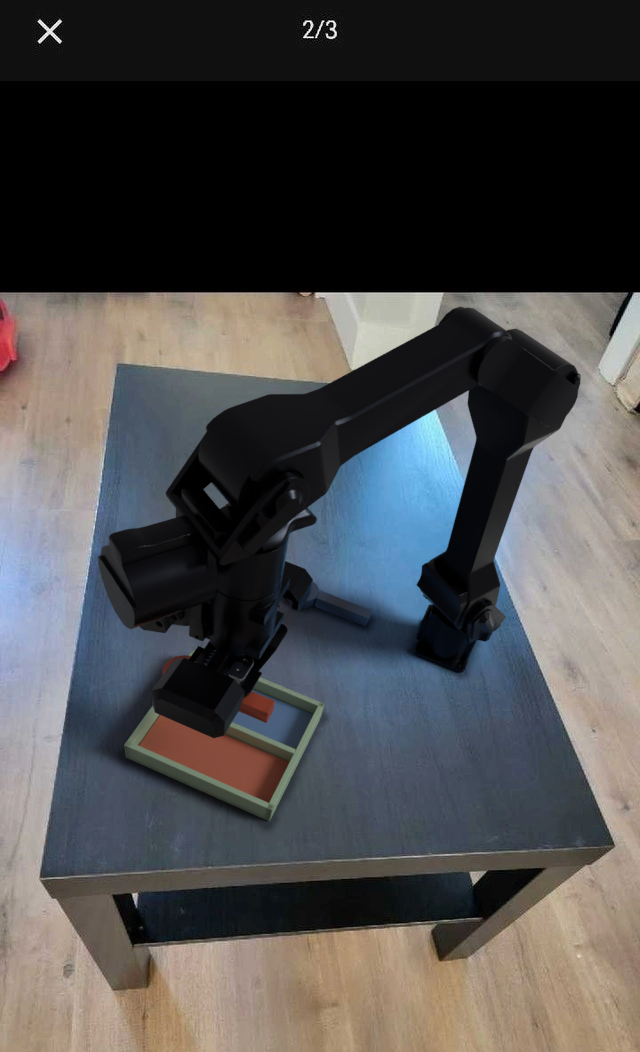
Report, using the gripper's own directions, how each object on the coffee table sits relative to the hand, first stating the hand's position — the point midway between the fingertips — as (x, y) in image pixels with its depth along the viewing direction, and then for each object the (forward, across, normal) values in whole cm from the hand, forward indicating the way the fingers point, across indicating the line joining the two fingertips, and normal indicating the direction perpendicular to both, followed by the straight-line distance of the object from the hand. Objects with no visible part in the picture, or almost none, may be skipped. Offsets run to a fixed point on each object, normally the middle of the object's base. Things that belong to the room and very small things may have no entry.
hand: (233, 694), depth 64 cm
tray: (+10, -2, -1) cm, 10 cm away
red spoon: (+1, 0, -1) cm, 1 cm away
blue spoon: (+10, -25, +2) cm, 27 cm away
